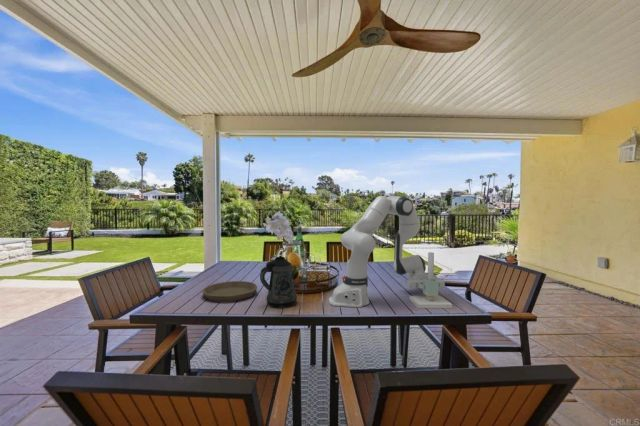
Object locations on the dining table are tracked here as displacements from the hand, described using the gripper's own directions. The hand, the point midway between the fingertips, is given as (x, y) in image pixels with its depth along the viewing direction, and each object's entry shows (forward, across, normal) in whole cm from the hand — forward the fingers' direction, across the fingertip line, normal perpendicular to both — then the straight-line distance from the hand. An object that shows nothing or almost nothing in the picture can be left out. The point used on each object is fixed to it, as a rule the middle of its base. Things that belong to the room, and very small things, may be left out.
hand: (431, 287), depth 162 cm
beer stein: (-1, -82, +10) cm, 83 cm away
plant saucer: (-17, -113, +10) cm, 115 cm away
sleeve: (-1, 0, +4) cm, 4 cm away
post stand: (-1, 0, +9) cm, 9 cm away
